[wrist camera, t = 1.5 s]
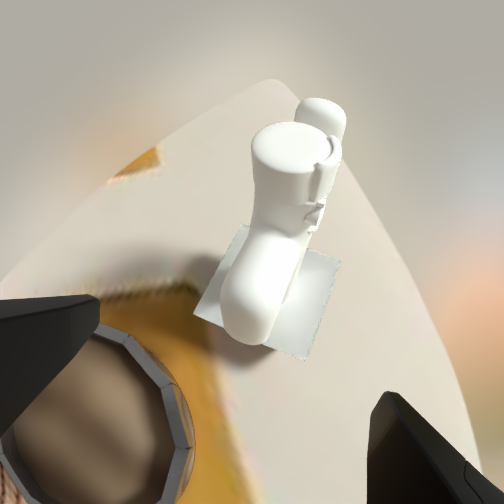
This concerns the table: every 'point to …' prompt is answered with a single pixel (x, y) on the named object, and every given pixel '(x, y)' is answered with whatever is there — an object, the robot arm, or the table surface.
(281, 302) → the figurine
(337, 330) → the table surface
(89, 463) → the brown round plate
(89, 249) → the table surface
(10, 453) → the round grey tray
